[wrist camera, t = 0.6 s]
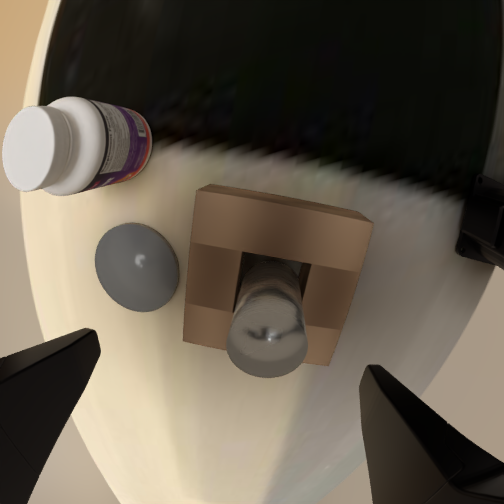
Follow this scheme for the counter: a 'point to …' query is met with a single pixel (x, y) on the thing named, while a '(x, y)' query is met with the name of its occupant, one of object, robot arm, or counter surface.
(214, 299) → the socket block
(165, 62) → the counter surface
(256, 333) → the plug
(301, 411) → the counter surface
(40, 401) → the robot arm
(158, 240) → the coaster
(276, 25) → the counter surface
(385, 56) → the counter surface
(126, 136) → the pill bottle
